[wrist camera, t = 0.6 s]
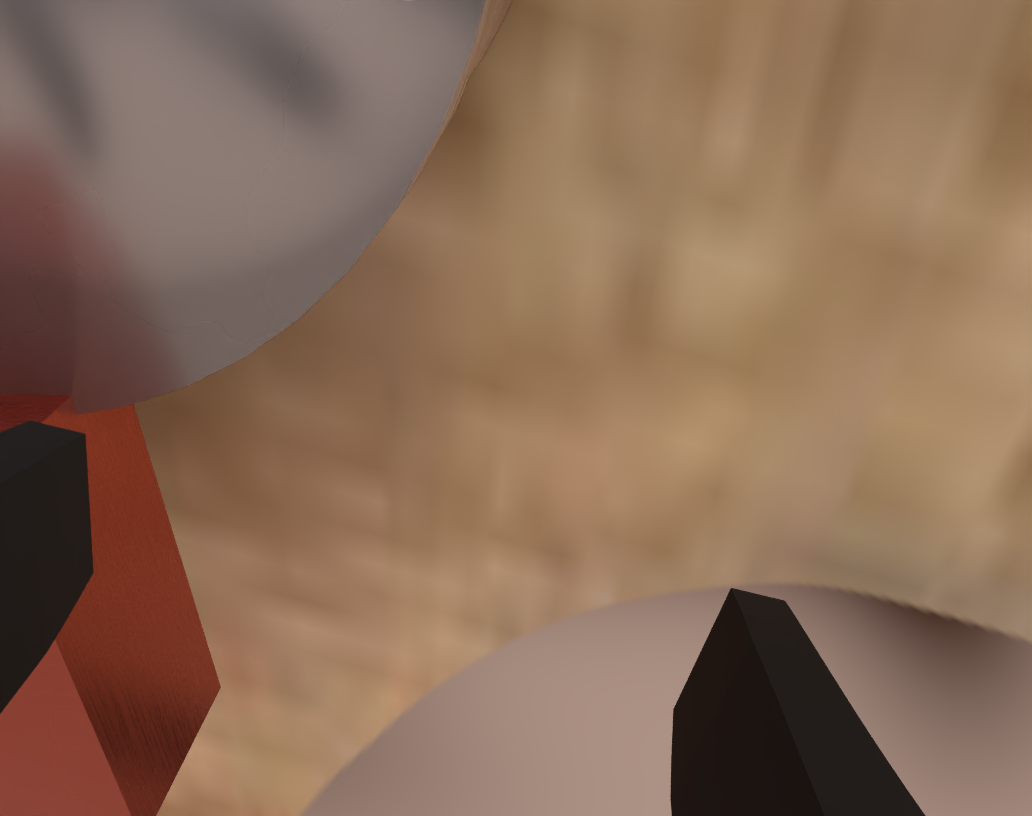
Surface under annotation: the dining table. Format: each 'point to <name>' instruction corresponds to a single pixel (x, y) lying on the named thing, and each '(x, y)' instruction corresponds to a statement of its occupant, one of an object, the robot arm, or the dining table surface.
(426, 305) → the dining table surface
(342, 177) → the cooker lid
